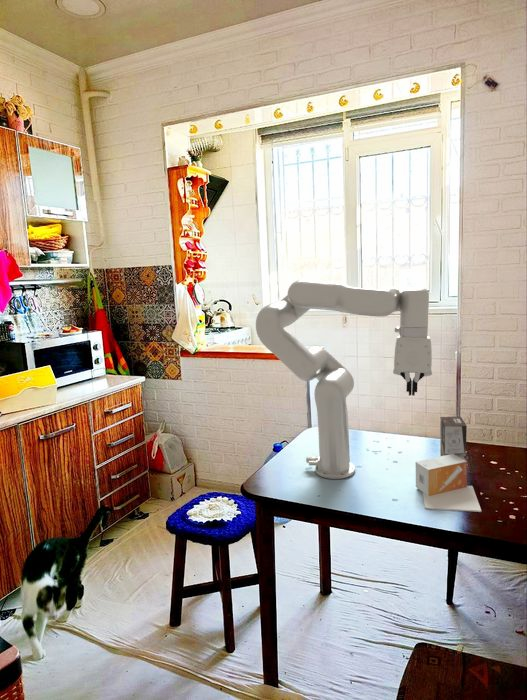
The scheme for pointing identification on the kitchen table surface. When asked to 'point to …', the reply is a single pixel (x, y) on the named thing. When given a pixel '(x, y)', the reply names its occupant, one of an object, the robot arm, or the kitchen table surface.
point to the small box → (441, 474)
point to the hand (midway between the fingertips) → (411, 394)
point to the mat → (453, 500)
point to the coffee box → (453, 436)
